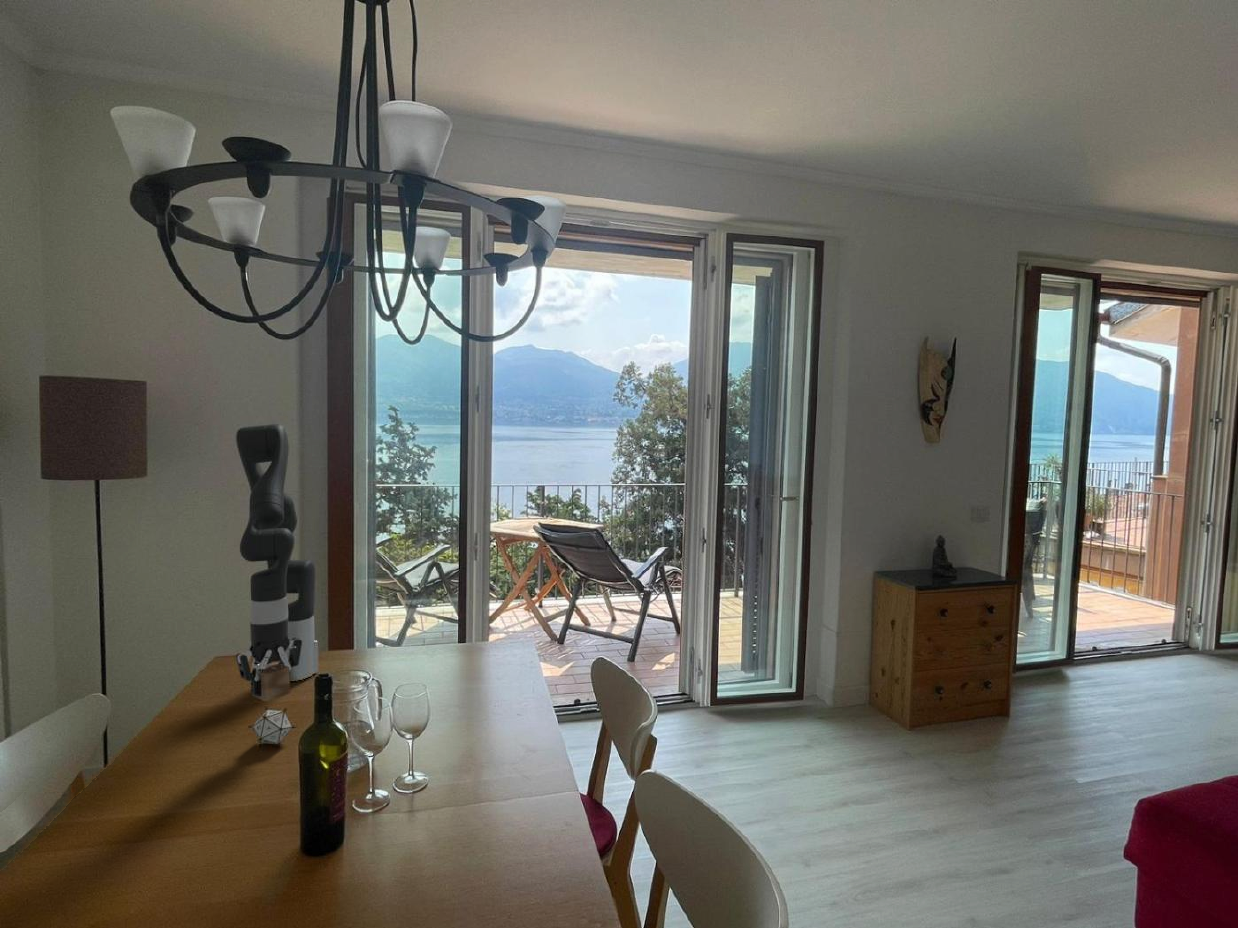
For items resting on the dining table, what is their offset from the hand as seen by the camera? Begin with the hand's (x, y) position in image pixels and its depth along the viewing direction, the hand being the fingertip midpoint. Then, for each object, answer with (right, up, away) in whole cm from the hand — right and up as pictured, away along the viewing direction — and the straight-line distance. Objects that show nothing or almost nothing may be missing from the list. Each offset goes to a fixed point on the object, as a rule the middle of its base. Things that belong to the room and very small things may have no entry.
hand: (271, 690), depth 147 cm
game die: (0, -13, +1) cm, 13 cm away
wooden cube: (0, -1, 0) cm, 1 cm away
